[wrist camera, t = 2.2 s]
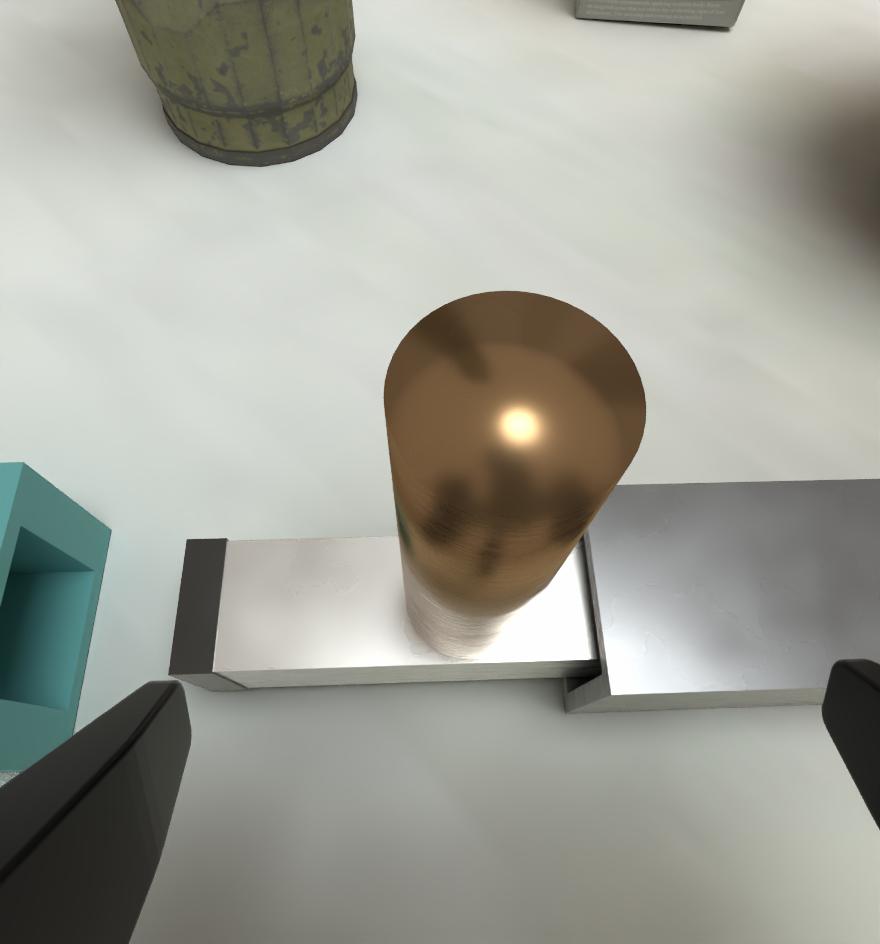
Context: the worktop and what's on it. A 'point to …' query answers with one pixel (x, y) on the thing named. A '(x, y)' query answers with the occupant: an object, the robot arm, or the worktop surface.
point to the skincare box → (663, 11)
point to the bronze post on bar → (442, 520)
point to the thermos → (249, 73)
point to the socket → (43, 612)
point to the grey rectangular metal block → (730, 593)
